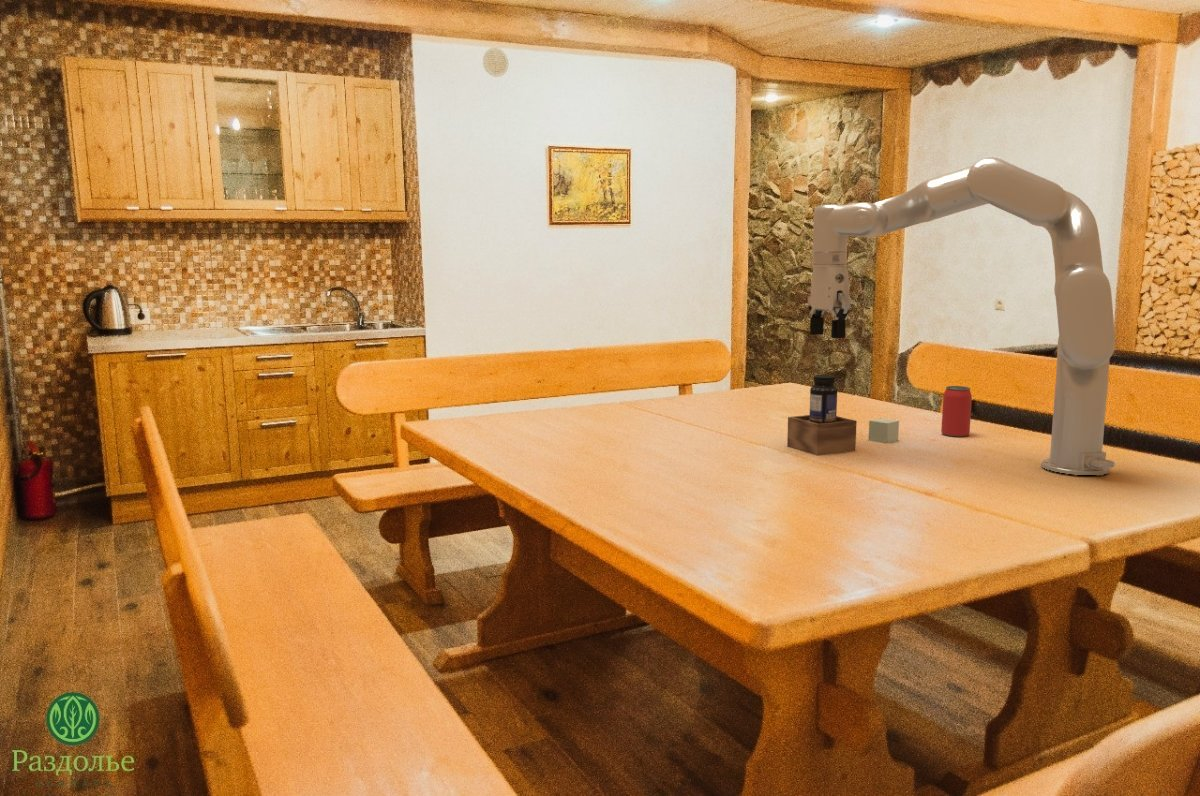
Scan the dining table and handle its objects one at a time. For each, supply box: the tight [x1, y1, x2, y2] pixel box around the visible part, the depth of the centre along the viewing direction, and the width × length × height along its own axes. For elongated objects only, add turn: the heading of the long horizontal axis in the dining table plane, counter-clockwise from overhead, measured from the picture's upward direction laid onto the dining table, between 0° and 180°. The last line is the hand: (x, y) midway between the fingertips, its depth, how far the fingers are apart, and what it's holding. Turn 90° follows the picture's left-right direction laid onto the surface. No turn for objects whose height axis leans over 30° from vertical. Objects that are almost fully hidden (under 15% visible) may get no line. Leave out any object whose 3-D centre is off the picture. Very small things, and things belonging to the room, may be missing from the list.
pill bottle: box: [808, 374, 838, 424], centre depth 207 cm, size 6×6×11 cm
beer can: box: [940, 385, 973, 438], centre depth 223 cm, size 7×7×12 cm
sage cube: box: [868, 417, 900, 444], centre depth 217 cm, size 5×5×5 cm
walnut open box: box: [786, 414, 858, 456], centre depth 208 cm, size 11×11×7 cm
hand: (827, 336), depth 205 cm, fingers open, 9 cm apart
